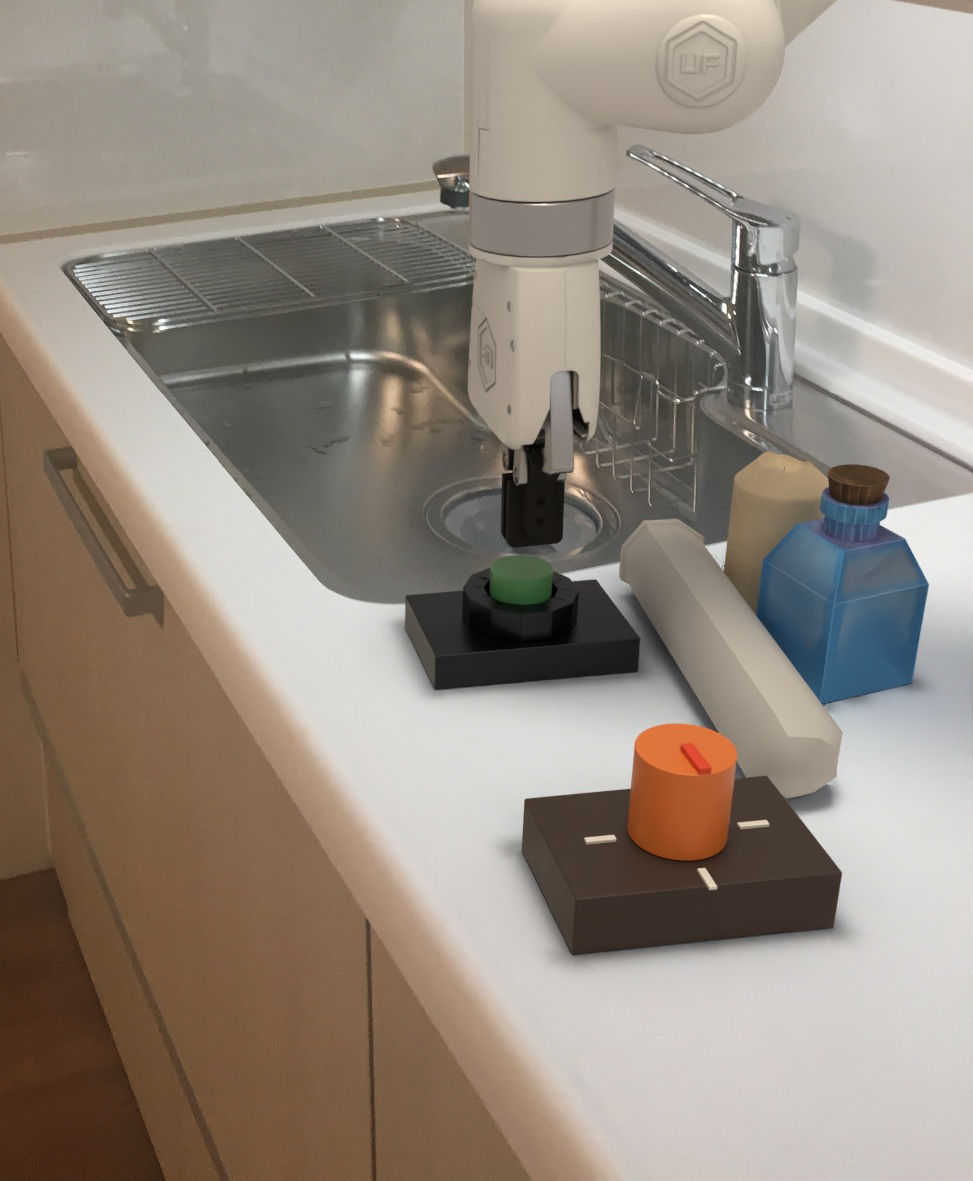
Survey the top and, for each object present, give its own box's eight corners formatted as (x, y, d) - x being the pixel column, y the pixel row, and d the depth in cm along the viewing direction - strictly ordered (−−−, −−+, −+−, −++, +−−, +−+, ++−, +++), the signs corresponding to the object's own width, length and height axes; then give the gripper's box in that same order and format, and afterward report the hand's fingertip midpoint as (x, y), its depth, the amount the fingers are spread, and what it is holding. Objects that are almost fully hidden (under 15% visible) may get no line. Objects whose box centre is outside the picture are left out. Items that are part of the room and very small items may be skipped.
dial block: (758, 823, 79) (765, 768, 78) (837, 931, 72) (846, 873, 70) (519, 846, 78) (522, 791, 77) (574, 959, 71) (578, 900, 69)
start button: (541, 578, 97) (542, 552, 96) (559, 605, 93) (561, 578, 93) (482, 583, 96) (483, 557, 95) (498, 610, 93) (499, 583, 92)
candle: (829, 607, 100) (851, 456, 95) (788, 639, 96) (809, 483, 92) (746, 583, 103) (763, 436, 99) (703, 613, 99) (719, 461, 95)
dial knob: (613, 811, 75) (620, 722, 73) (703, 801, 76) (713, 713, 74) (648, 866, 71) (657, 774, 69) (743, 855, 72) (755, 763, 70)
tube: (880, 740, 78) (716, 528, 101) (781, 715, 77) (637, 507, 100) (831, 828, 80) (681, 602, 103) (734, 806, 80) (604, 582, 102)
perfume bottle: (751, 655, 94) (774, 464, 89) (839, 636, 96) (867, 447, 91) (819, 704, 89) (848, 504, 84) (911, 683, 91) (945, 486, 86)
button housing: (594, 610, 100) (598, 552, 99) (638, 671, 93) (643, 610, 92) (404, 626, 99) (405, 568, 98) (434, 689, 92) (436, 627, 91)
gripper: (438, 199, 92) (437, 498, 100) (509, 263, 78) (502, 602, 86) (566, 188, 92) (556, 486, 100) (660, 250, 79) (639, 588, 87)
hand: (531, 539), depth 93 cm, fingers closed
